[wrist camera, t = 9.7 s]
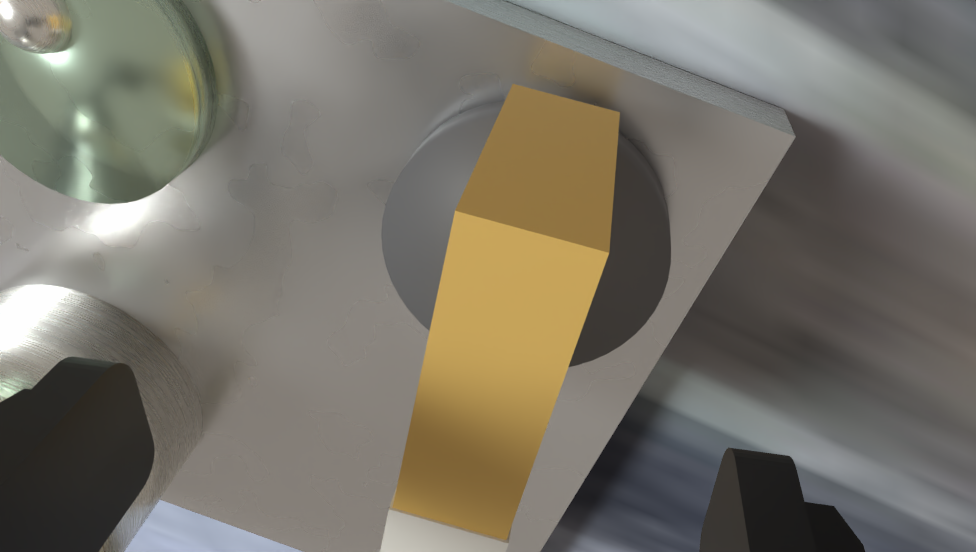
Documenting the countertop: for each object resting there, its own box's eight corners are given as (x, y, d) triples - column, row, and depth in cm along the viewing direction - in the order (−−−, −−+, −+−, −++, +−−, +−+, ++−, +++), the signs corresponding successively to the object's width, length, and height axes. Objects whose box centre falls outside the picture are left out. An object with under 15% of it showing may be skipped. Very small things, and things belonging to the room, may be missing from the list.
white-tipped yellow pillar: (420, 40, 14) (301, 171, 9) (723, 121, 14) (765, 297, 9) (375, 323, 18) (275, 521, 13) (612, 389, 18) (600, 615, 13)
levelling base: (504, 581, 26) (409, 1117, 15) (0, 397, 25) (-456, 824, 15) (784, 109, 16) (1061, 739, 5) (-49, -215, 15) (-1607, -237, 5)
